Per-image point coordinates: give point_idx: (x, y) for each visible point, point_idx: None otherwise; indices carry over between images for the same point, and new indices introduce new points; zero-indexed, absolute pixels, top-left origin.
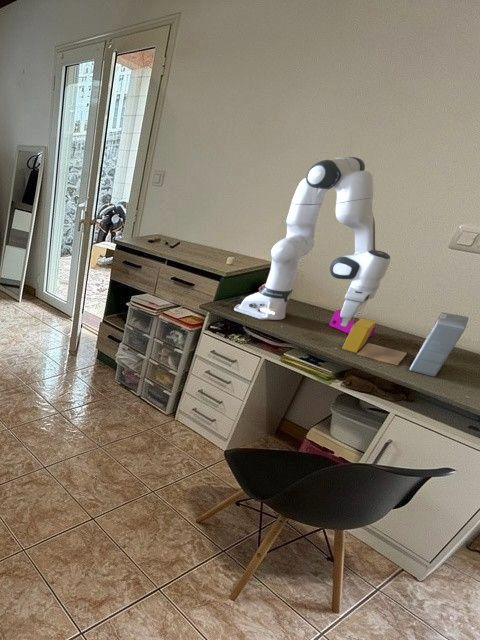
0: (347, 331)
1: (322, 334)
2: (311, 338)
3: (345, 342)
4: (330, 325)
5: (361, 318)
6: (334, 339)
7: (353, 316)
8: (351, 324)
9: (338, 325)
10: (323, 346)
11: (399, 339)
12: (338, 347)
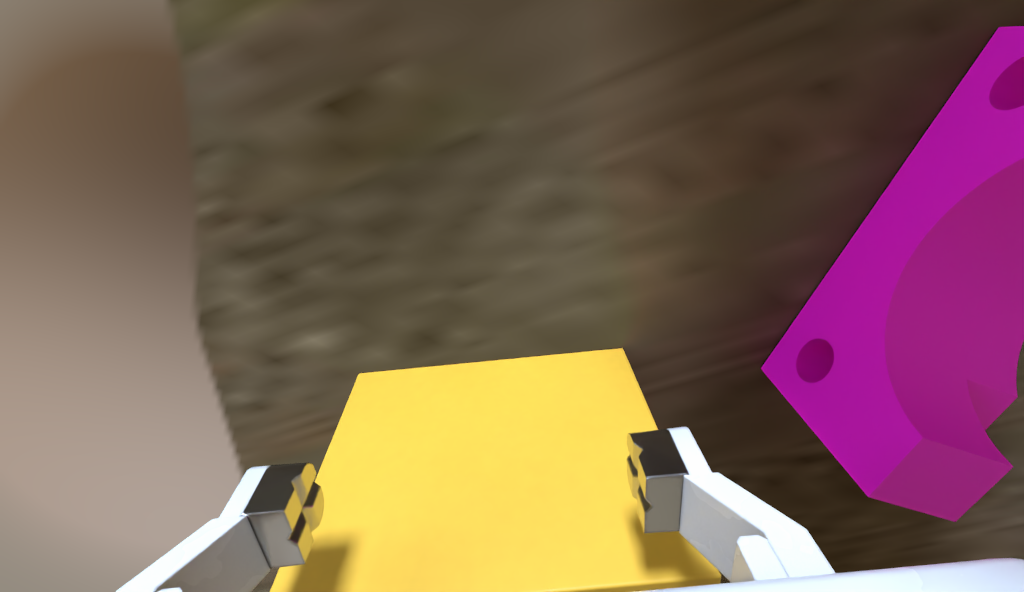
0: (850, 257)
1: (596, 112)
2: (355, 84)
3: (340, 421)
4: (989, 47)
5: (681, 583)
6: (542, 251)
7: (675, 515)
8: (995, 264)
9: (952, 148)
10: (256, 261)
11: (924, 517)
12: (366, 346)
